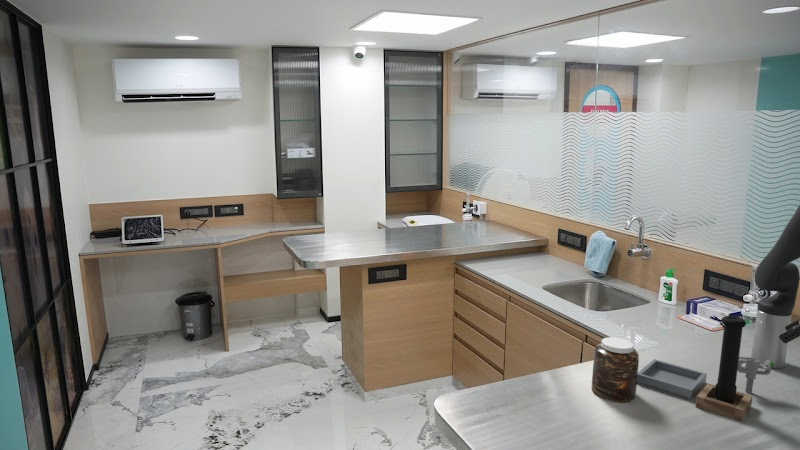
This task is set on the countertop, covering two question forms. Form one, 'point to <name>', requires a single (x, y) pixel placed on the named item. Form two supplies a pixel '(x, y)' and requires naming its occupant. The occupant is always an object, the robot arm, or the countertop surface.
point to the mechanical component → (753, 370)
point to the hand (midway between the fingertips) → (784, 335)
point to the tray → (671, 379)
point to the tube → (729, 359)
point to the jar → (615, 370)
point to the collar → (724, 403)
